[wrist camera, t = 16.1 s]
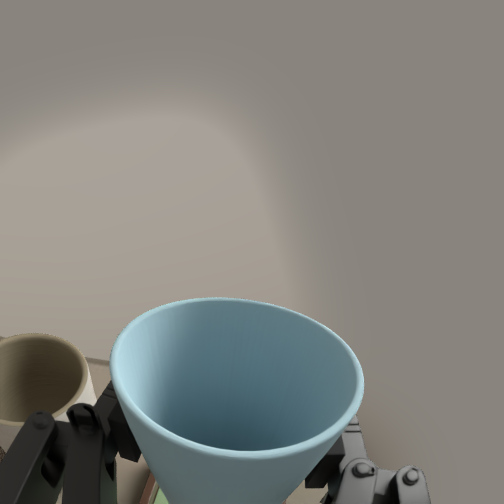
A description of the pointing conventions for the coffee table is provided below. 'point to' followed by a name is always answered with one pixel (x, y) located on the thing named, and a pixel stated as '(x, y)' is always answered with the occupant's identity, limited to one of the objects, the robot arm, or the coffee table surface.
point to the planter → (39, 380)
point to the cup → (233, 397)
